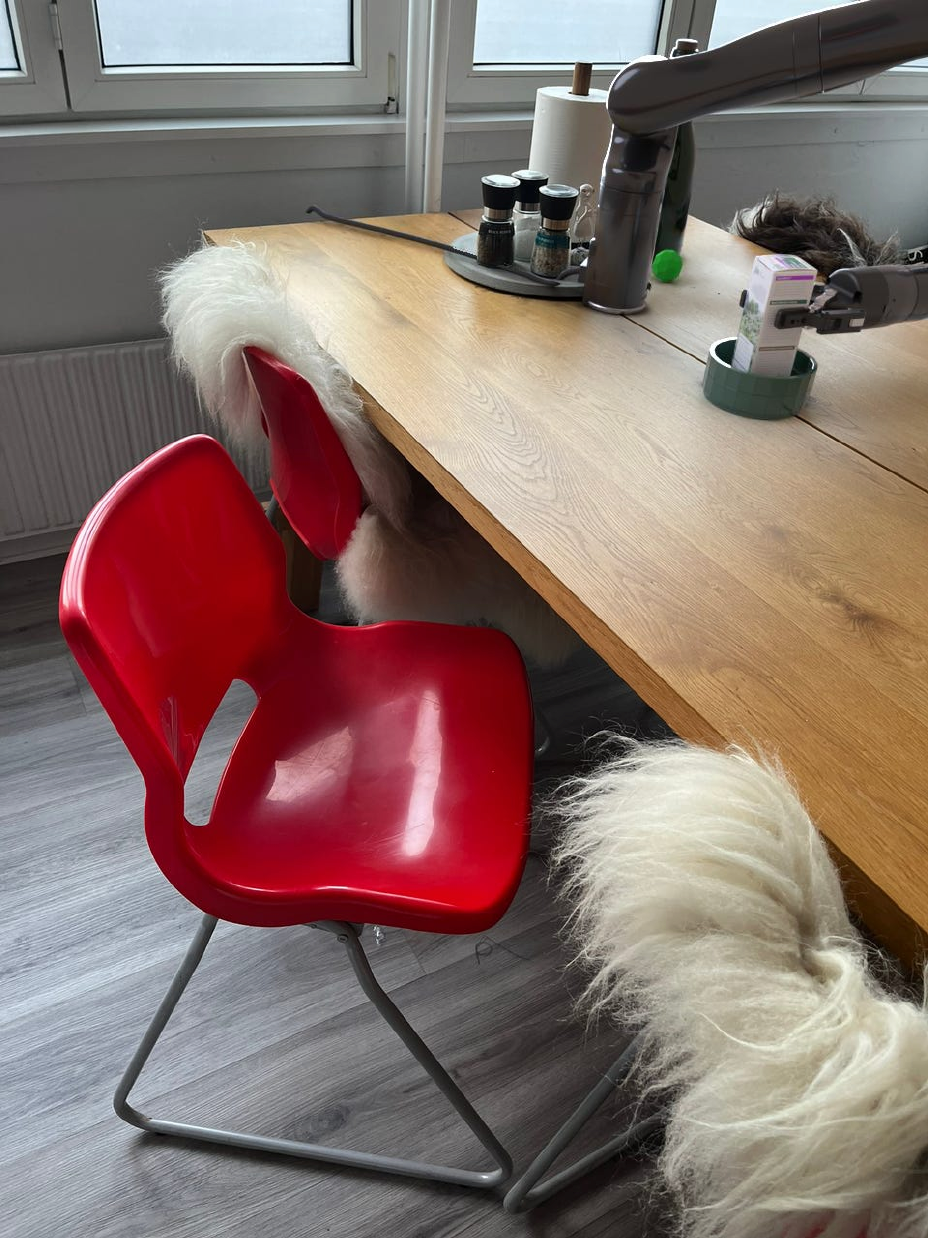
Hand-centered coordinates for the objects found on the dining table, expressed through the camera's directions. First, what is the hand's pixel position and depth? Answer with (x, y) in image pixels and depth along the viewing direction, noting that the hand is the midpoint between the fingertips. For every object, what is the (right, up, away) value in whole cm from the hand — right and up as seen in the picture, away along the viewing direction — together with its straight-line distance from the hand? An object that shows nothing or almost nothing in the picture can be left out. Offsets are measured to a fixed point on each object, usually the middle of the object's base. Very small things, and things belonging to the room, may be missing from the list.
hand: (759, 309), depth 113 cm
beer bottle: (-2, +28, +56) cm, 63 cm away
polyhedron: (-2, +19, +44) cm, 48 cm away
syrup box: (+2, -7, +6) cm, 9 cm away
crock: (+2, -9, +8) cm, 12 cm away
